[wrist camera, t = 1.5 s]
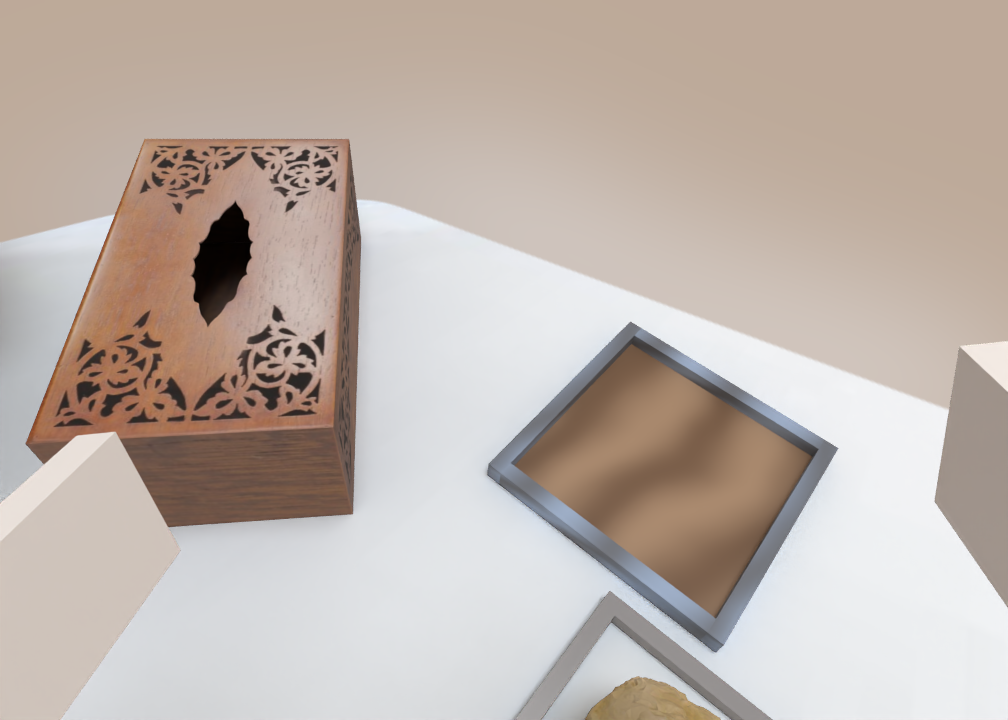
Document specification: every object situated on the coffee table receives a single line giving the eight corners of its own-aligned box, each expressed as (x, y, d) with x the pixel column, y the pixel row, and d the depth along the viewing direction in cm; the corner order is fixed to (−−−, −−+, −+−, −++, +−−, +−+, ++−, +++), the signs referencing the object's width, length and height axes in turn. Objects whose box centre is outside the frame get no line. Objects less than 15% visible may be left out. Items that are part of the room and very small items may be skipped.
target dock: (487, 474, 44) (488, 463, 43) (626, 333, 53) (630, 321, 52) (715, 652, 38) (723, 644, 37) (829, 458, 47) (838, 448, 45)
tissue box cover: (353, 515, 42) (333, 427, 34) (106, 533, 40) (25, 443, 32) (361, 241, 58) (348, 139, 50) (185, 245, 56) (144, 138, 48)
